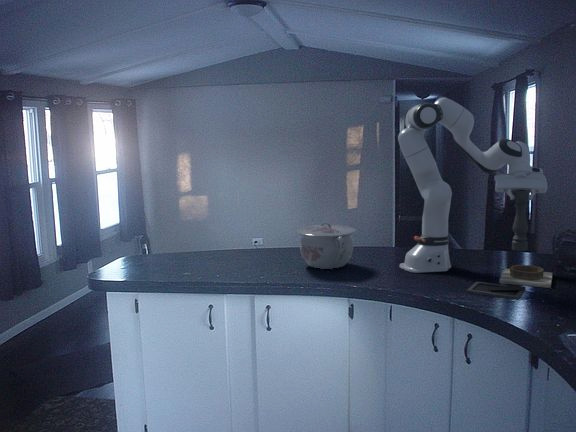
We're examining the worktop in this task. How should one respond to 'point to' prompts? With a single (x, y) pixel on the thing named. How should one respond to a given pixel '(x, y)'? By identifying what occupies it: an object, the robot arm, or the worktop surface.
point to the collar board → (526, 276)
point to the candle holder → (520, 221)
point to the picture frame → (497, 290)
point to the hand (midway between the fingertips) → (521, 199)
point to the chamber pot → (326, 245)
